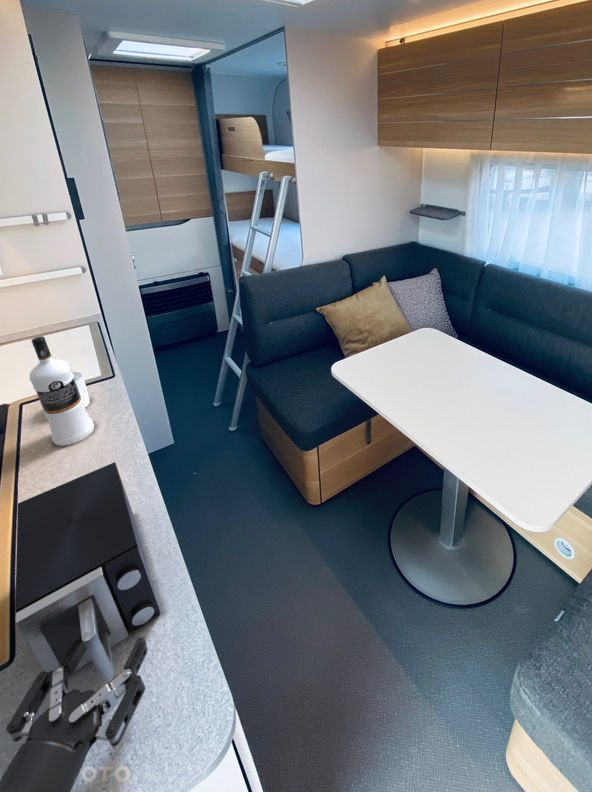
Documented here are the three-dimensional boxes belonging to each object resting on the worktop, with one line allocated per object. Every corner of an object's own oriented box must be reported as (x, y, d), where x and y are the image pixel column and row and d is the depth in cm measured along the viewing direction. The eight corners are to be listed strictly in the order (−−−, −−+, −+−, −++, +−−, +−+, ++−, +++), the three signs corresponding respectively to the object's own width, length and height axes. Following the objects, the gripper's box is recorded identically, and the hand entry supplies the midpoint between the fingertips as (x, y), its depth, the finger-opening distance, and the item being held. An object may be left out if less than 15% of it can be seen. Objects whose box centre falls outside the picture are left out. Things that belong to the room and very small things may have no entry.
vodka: (94, 419, 116) (61, 325, 105) (96, 438, 109) (60, 339, 98) (54, 432, 112) (14, 336, 100) (53, 453, 104) (10, 351, 93)
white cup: (82, 396, 126) (72, 369, 123) (98, 403, 123) (88, 375, 119) (54, 411, 120) (43, 383, 116) (70, 419, 117) (59, 390, 113)
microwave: (162, 619, 69) (140, 556, 63) (53, 691, 60) (14, 626, 54) (134, 519, 87) (115, 461, 80) (47, 563, 78) (17, 503, 72)
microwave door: (137, 675, 62) (109, 611, 56) (55, 733, 56) (14, 668, 50) (127, 629, 68) (101, 566, 61) (52, 677, 62) (15, 613, 56)
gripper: (-28, 823, 46) (75, 652, 61) (93, 832, 46) (168, 656, 61) (-56, 794, 43) (59, 621, 58) (73, 802, 43) (156, 625, 58)
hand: (114, 639), depth 59 cm, fingers open, 8 cm apart
